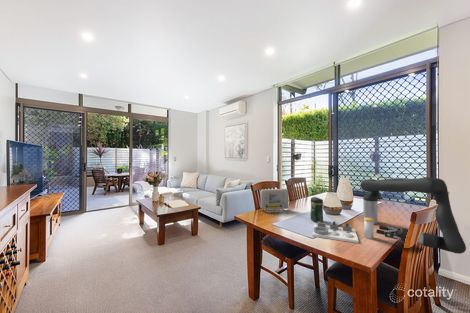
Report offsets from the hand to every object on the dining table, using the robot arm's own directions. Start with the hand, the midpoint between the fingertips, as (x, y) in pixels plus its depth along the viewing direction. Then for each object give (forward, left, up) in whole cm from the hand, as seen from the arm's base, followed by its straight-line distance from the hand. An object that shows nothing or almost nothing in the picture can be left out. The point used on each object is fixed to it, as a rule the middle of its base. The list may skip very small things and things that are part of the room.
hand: (377, 229), depth 126 cm
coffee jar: (-23, -37, -7) cm, 43 cm away
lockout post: (-2, -5, -7) cm, 8 cm away
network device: (-38, -75, -7) cm, 84 cm away
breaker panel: (0, -25, -7) cm, 25 cm away
